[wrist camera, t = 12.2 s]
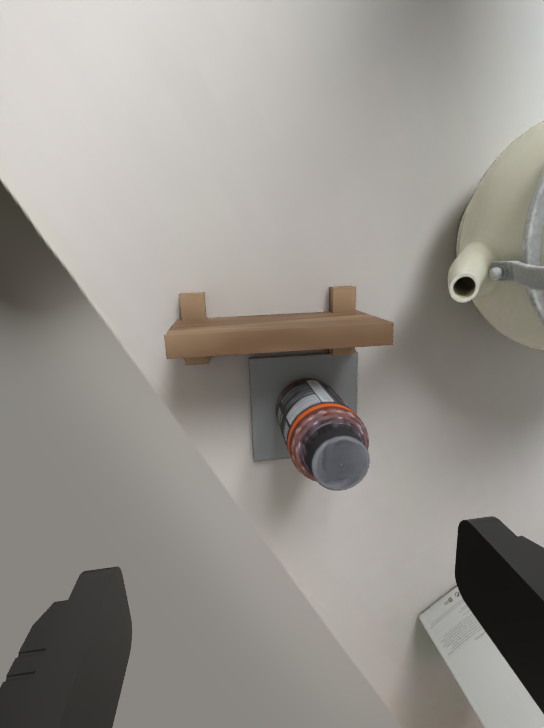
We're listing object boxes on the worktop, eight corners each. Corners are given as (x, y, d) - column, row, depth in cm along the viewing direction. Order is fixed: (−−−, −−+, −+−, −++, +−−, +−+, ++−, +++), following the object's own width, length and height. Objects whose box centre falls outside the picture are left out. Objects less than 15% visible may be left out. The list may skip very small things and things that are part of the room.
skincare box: (415, 614, 45) (512, 785, 30) (461, 579, 45) (581, 736, 30) (452, 652, 48) (559, 830, 33) (496, 619, 47) (624, 784, 32)
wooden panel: (174, 293, 33) (160, 302, 26) (356, 285, 35) (395, 291, 27) (181, 362, 35) (170, 389, 27) (355, 351, 37) (391, 374, 29)
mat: (248, 357, 35) (249, 359, 35) (355, 351, 37) (357, 352, 36) (253, 458, 38) (254, 461, 37) (353, 449, 39) (355, 451, 38)
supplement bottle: (345, 420, 38) (396, 483, 27) (288, 445, 37) (316, 520, 27) (323, 365, 36) (368, 408, 25) (264, 392, 36) (283, 447, 25)
